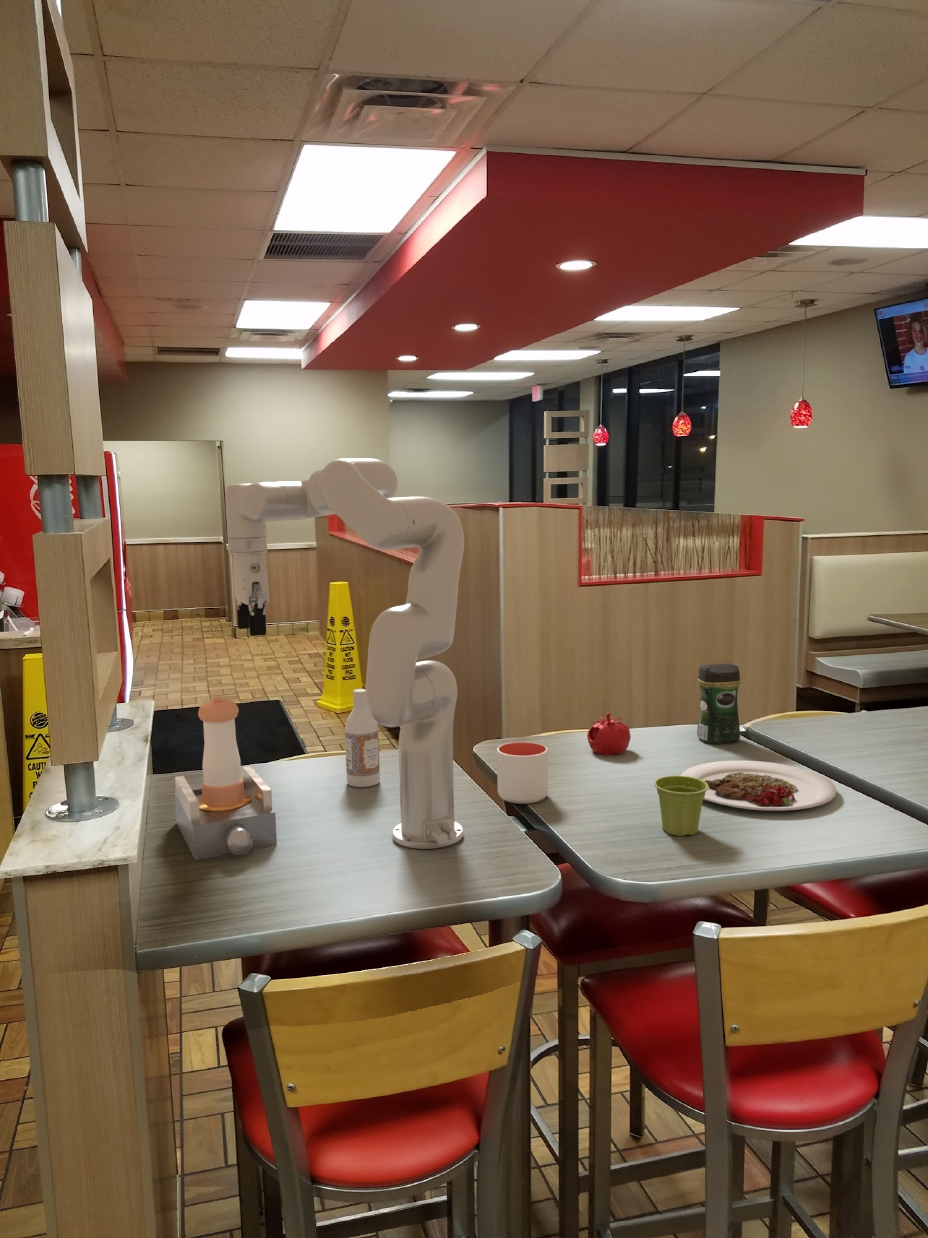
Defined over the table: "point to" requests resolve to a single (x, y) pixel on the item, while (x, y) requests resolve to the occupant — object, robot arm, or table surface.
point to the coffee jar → (718, 703)
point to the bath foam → (361, 744)
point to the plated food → (762, 785)
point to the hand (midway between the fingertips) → (251, 631)
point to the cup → (522, 772)
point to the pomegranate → (609, 736)
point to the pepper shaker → (220, 754)
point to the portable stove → (226, 819)
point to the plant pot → (680, 803)
